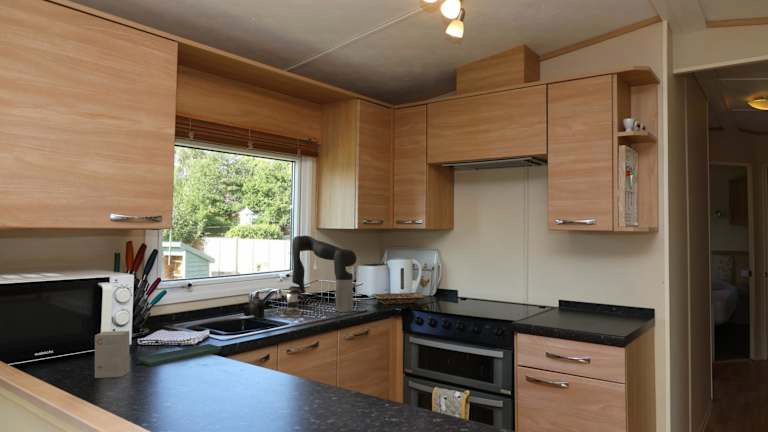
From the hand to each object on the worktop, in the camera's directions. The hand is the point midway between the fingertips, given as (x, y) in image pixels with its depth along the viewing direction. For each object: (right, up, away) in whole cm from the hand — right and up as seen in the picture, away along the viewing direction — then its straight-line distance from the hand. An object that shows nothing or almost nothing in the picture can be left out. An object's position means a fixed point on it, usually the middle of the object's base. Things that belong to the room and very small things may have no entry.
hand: (293, 299), depth 289 cm
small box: (-34, -3, -128) cm, 133 cm away
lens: (+1, -6, -9) cm, 10 cm away
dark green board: (-21, -4, -107) cm, 109 cm away
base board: (+2, -5, -20) cm, 20 cm away
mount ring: (+2, -5, -20) cm, 20 cm away
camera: (-16, -6, -24) cm, 30 cm away
